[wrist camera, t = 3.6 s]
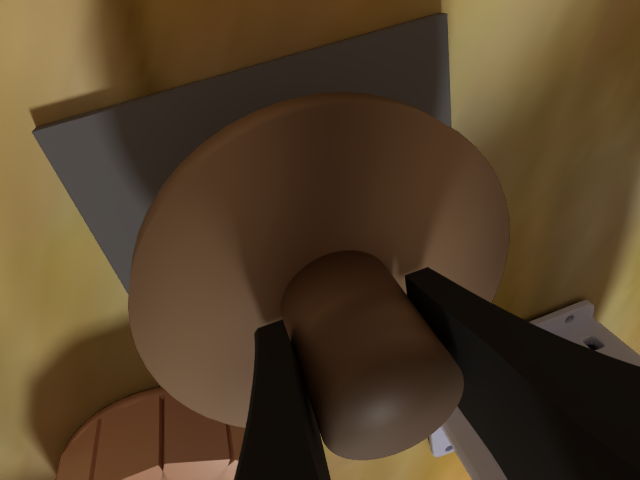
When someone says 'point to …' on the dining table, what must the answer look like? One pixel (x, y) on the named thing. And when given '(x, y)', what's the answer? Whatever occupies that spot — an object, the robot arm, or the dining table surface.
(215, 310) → the lid
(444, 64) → the mat
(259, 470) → the robot arm
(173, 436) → the bowl
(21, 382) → the dining table surface
